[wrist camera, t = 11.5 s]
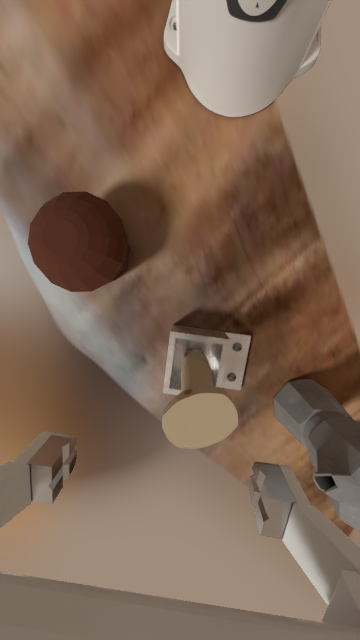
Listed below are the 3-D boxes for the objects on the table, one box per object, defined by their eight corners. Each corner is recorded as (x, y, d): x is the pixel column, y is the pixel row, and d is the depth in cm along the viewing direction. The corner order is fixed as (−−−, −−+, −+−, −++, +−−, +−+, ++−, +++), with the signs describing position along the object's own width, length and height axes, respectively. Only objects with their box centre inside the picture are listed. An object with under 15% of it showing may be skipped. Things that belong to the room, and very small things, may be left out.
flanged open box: (173, 324, 32) (170, 331, 27) (249, 334, 32) (260, 343, 27) (166, 377, 34) (162, 392, 29) (239, 387, 33) (247, 404, 29)
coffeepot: (253, 419, 34) (321, 565, 16) (269, 368, 32) (365, 469, 15) (343, 440, 34) (508, 609, 16) (364, 389, 32) (575, 517, 15)
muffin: (86, 302, 32) (41, 311, 22) (49, 235, 30) (-17, 213, 21) (153, 268, 31) (136, 261, 21) (118, 196, 29) (81, 152, 19)
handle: (220, 363, 32) (246, 432, 17) (182, 378, 33) (176, 456, 18) (207, 335, 31) (224, 383, 16) (169, 351, 32) (153, 410, 17)
